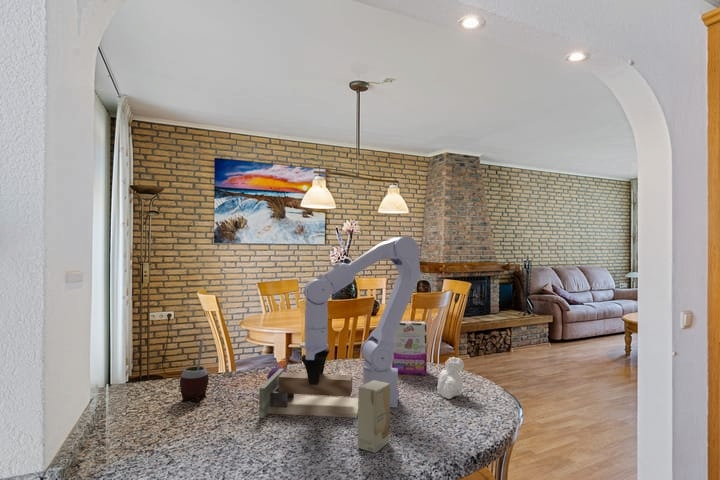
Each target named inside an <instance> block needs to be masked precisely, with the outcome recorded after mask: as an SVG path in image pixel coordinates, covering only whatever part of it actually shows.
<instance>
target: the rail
mask: <svg viewBox="0 0 720 480" xmlns="http://www.w3.org/2000/svg"><path fill="white" fill-rule="evenodd" d="M279 392H287V394H294V395H305V396H325V397H344V398H351V395H352V392H353V375H350V374H332V373H331V374H329V373H327V374H326V373H323V374H320V378H319V382H318V385H310V384H309V381H308V376H307V372H289V371H287V372H283V373H282V374H281V375H280V376H279Z"/></svg>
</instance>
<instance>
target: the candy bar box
mask: <svg viewBox="0 0 720 480" xmlns="http://www.w3.org/2000/svg"><path fill="white" fill-rule="evenodd" d="M427 329H428V328H427V321H417V320H401V322H400V324H399V327H398V329H397V332H396V334H395V342H396V346H395V349H394V360H393V363H392V365H391V367H392V368H398V375H419V376H427V374H428V373H427V372H428V360H427V359H428V358H427V357H428V356H427V354H428V350H427V349H428V346H427V343H428V341H427V336H428V335H427Z"/></svg>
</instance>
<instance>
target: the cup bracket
mask: <svg viewBox="0 0 720 480" xmlns="http://www.w3.org/2000/svg"><path fill="white" fill-rule="evenodd" d="M283 372H284V369H279V370H278V371H277V372H276V373H275V374H274V375H272V376H271V377H270V378H269V379H268V380H266V381H265V382H264V383H263V384H262V385H261V386H259V391H258V394H259V400H258V401H259V402H258V408H259V409H258V411H259V412H258V416H259V417H258V418H259V419H265V418H266V417H267V415H268V414H274V415H275V414H276V415H292V416H294V415H295V416H312V415H314V416H313V417H315V416H316V417H334V418H336V417H337V418H352V419H353V418H357V419H358V397H343V396H321V395H299V394H287V392H279V376H280V375H281V374H282V373H283Z"/></svg>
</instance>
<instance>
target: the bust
mask: <svg viewBox="0 0 720 480" xmlns="http://www.w3.org/2000/svg"><path fill="white" fill-rule="evenodd" d="M444 365H445V367H446V369H442V370H441V372H440V373H439V375H438V377H437V387H436V389H437V392H438V394H439V395H440V396H441V397H442V398H446V399H448V400H451V399H453V398H454V397H458V396H460V395H461V393H462V390H463V386H464V384H463V378H462V376H461V375H460V374H459V372H460V371H461V370H463V368H464V366H465V362H464V361H463V359H461V357H456V356H452V357H450V356H449V357H448V359H447V360H446V361H445V362H444Z"/></svg>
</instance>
